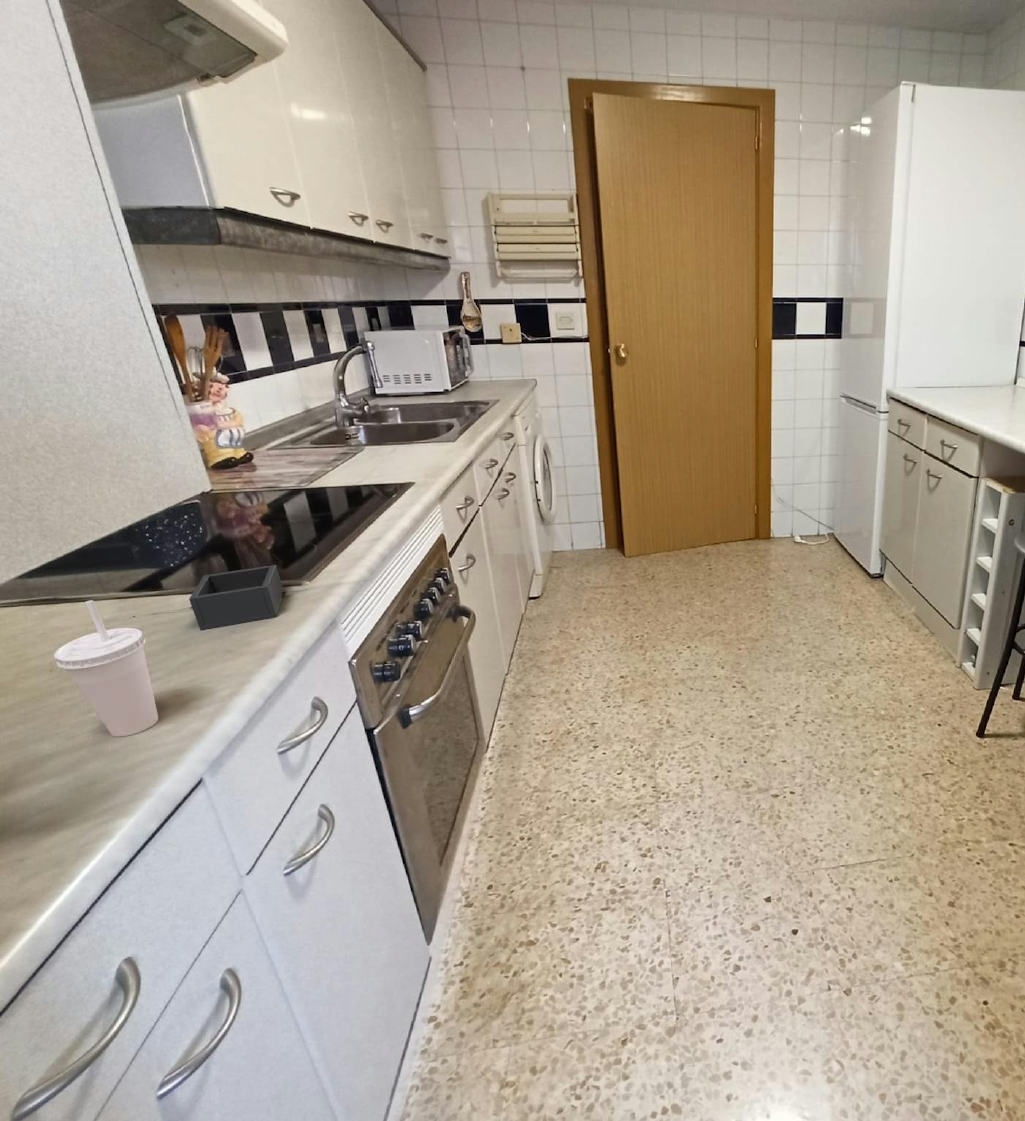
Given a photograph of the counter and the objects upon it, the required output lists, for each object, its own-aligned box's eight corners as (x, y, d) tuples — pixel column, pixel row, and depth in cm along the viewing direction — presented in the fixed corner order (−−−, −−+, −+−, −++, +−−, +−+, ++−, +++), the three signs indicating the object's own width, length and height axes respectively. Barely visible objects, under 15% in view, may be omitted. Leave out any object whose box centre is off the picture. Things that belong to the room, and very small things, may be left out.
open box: (200, 630, 85) (188, 598, 83) (214, 604, 92) (203, 575, 90) (276, 617, 89) (267, 586, 87) (284, 593, 96) (276, 564, 94)
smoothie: (171, 730, 66) (120, 607, 61) (85, 753, 63) (23, 625, 57) (178, 699, 71) (131, 583, 65) (99, 719, 68) (43, 598, 62)
